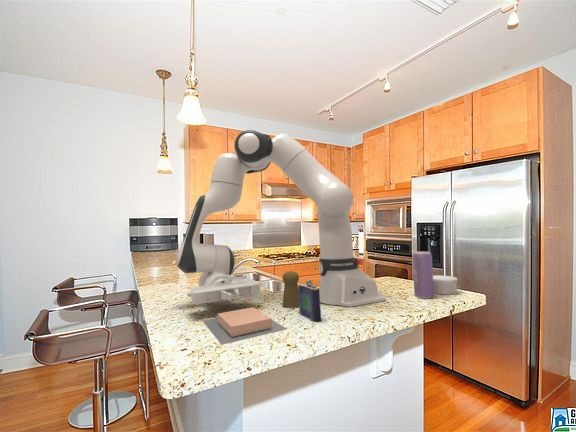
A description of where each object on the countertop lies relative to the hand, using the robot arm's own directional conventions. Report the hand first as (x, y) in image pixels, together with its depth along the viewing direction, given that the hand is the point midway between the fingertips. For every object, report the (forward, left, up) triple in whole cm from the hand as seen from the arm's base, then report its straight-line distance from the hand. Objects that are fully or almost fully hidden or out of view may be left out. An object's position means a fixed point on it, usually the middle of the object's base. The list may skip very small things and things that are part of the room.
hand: (234, 296), depth 77 cm
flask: (-20, +6, -7) cm, 22 cm away
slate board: (-2, +5, -7) cm, 9 cm away
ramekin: (-73, -7, -7) cm, 74 cm away
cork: (-18, -7, -7) cm, 21 cm away
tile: (0, +1, -5) cm, 5 cm away
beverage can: (-63, -3, -7) cm, 63 cm away
